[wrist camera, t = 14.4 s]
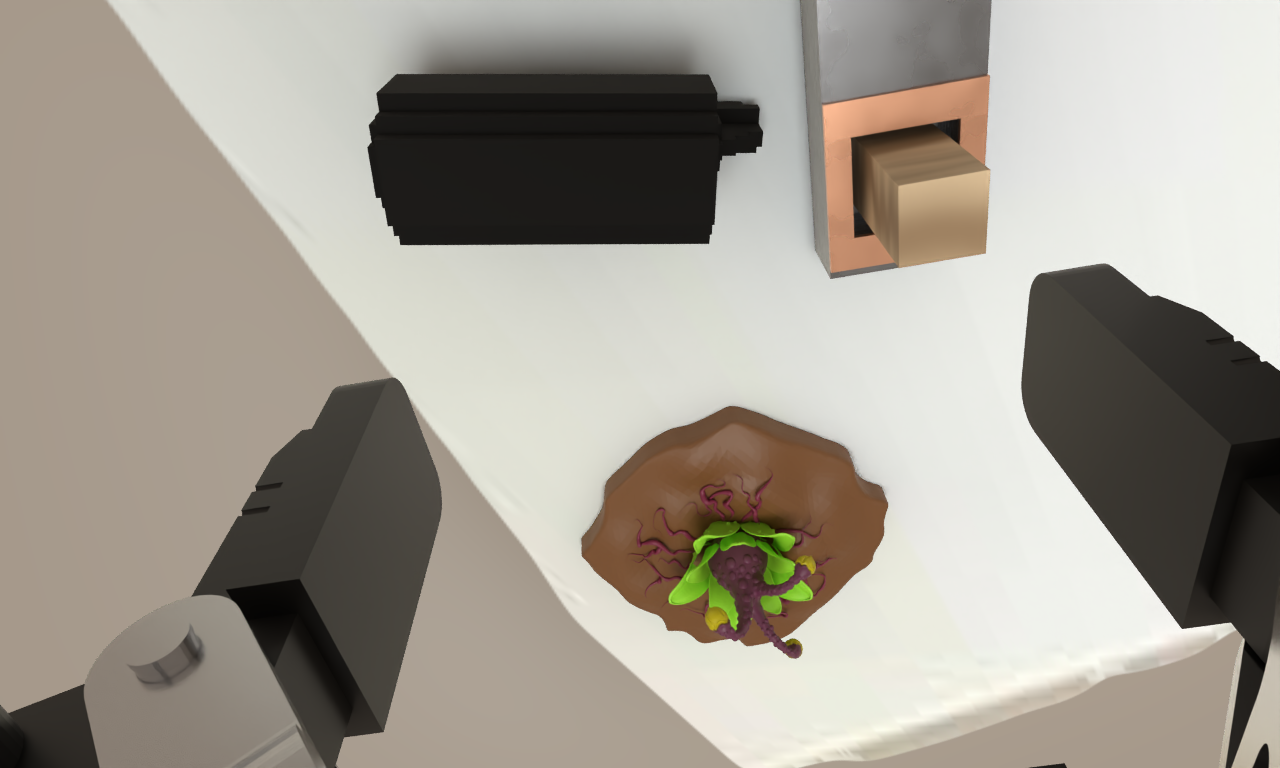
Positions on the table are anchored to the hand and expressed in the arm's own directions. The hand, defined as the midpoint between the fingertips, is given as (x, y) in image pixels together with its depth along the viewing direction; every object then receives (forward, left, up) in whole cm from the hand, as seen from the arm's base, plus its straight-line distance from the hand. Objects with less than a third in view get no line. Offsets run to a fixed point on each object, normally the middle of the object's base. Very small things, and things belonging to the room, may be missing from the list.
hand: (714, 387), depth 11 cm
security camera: (+5, -4, -36) cm, 37 cm away
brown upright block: (+10, +12, -35) cm, 38 cm away
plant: (+36, +1, -37) cm, 51 cm away
